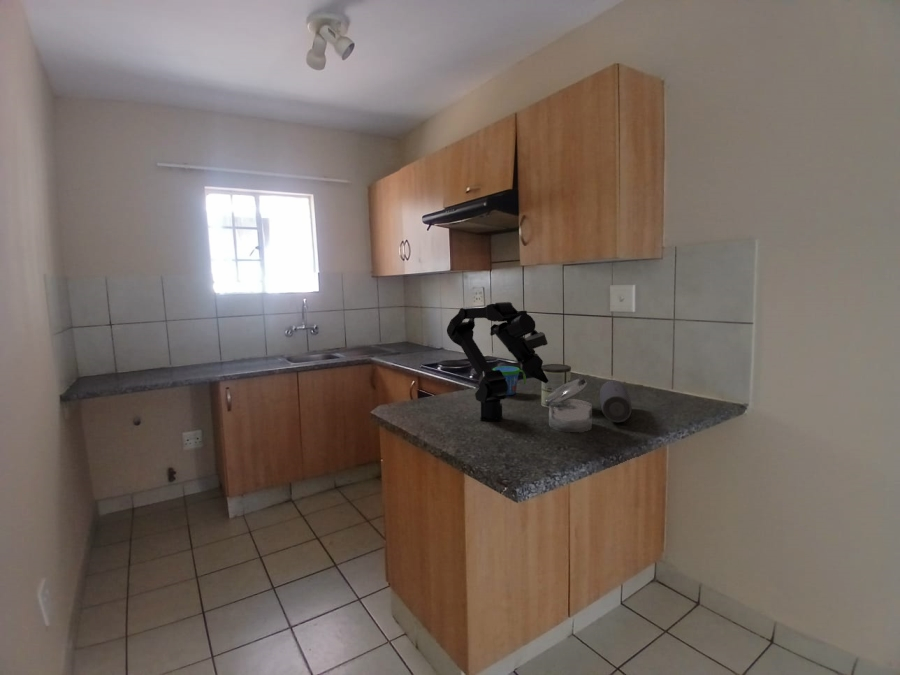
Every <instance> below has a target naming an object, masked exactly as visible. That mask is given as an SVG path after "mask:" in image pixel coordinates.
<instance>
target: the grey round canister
mask: <svg viewBox="0 0 900 675" xmlns="http://www.w3.org/2000/svg"><path fill="white" fill-rule="evenodd" d="M592 413H593V404H592V403H591V402H588V401H586V400H582V399H575V398H570V399H568V400H566V401H563V402H561V403H558V404H550V405H549V408H548V426H549V427H550V428H551V429H553V430H555V431H559V432H562V431H563V433H570V432H579V433H584V431H586V432H588V430H589V431H590V430H592V424H593V422H592V417H593V414H592Z"/></svg>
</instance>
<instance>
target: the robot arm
mask: <svg viewBox="0 0 900 675" xmlns="http://www.w3.org/2000/svg"><path fill="white" fill-rule="evenodd" d="M475 319H486V320H488V321H491V322H499V324H495V323H493V325H491V327H490V332H489V335H490V336H491V337H493V336H496V337H497V338H498V339H499V341H500V342H501V343H502V344H503V345H504V347H505V348H506V349H507V350H508V352H509V353H511V355H512V357H514V359H515V360H516V362H517V363H520V367H519V368H520V370H522V371H523V372H524V373H525V375H526V376H529V377H531V378H534V379H537V380H538V381H540V382H541V383H542V382H544V383H547V382H548V379H547V377H546V375H545V373H544V371H543V370H542V366H543V365H544V363H543V362H544V361H543V359H542V358H541V356H539V354H538V353H536V350H535V349H537V348H540V347H542V346H543V347H545V346H547V345H548V343H549V342H548V340H547V337H546V334H545V333H544V332H543V331H537V330H536V321H535V320H534V318H533V317H532V315H530V314H528V311H527V310H520V311H518V309H516V308H515V307H514V306H513V303H512V302H510V301H505V302H503V301H500V302H491V303H489V304H487V305H486V306H480V307H479V306H477V307H475V306H474V307H473V306H465V307H464V306H463V307H461V308H459V310H458V313H456V315H455V316H454V317H453V318H451V319H450V321H449V324H448V325H447V328H446V334H447V335H448V337H449V339H450V341H451V342H452V343H453V344H456V345H457V346H459V347H461V349H462V351H463V352H464V354H465V356H466V357H467V359H468V362H469V363H470V364H471V366H472V367H473V369H474V372H475V373H476V374H477V376H478V387H479V388H478V389H477V390H476V392H475V393H474V394H475V400H476V402H477V401H478V402H480V418H479V421H488V422H489V421H490V422H492V421H493V422H501V420H502V419H501V418H503V403H501V402H502V401H501V400H506V397H507V395H506V394H507V390H508V384H507V382H506V378H505V377H504V376H503V374H502V372H501V371H500V370H493V368H492V367H491V365H490V363H489V362H488V361H487V358H486V357H485V356H484V354H483V353H482V351H481V349H480V348H479V346H478V345H477V343H476V342H475V340H474V328H475V326H476V325H475V324H476V323H475ZM465 320H468V321H465ZM500 322H501V323H500ZM526 335H528V336H527V337H524V336H526Z"/></svg>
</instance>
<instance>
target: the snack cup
mask: <svg viewBox="0 0 900 675" xmlns="http://www.w3.org/2000/svg"><path fill="white" fill-rule="evenodd" d="M492 370H500V371H501V372H502V374H503V376H504V377H505V378H506V382H507V384H508V390H507V394H506V396H513V395H515V394H516V393H517V389H518V388H517V387H518V381H519V380H518V379H519V375H520V373H522V376H523V386H525V385H526V384H527V377H526V376H527V375H526V374H525V373H524V372H523V370H522V369H521V368H520V367H517V366H512V365H511V366H508V365H507V366H506V365H504V366H495V367H493V368H492Z"/></svg>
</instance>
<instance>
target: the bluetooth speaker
mask: <svg viewBox="0 0 900 675" xmlns="http://www.w3.org/2000/svg"><path fill="white" fill-rule="evenodd" d="M599 405H600V408H601V412H602V414H603V415H604V417H605V418H606V419H607V420H609V421H610V422H612V423H622V422H625V421H627V420H628V419H629V418H630V417H631V415H632V412H633V411H632V406H633V405H632V400H631V398H630V394H629V393H628V389H627V388H626V387H625V385H624V384H622V383H621V382H620V381H618V380H615V379H614V380H612V379H611V380H608V381H606V382H604V383H603V384H602V385H601V387H600V390H599Z"/></svg>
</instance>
